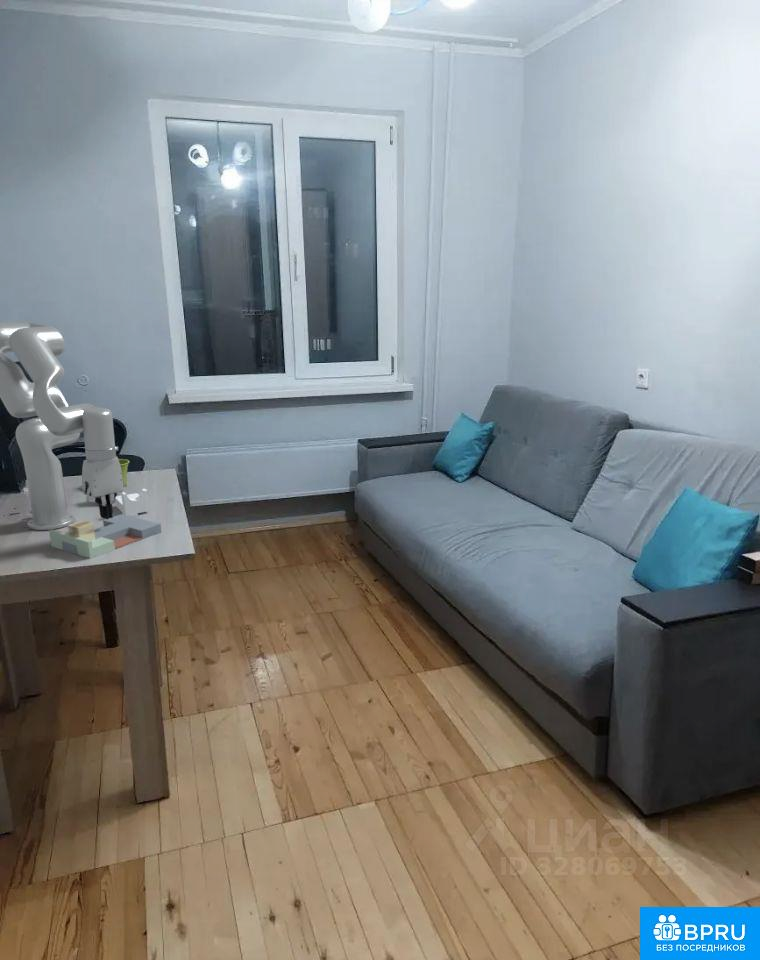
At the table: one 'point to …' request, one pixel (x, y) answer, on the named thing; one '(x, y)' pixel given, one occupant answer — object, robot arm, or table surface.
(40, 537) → the table surface
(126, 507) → the bracket
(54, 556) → the table surface
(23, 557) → the table surface
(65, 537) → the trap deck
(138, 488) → the table surface
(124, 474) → the plant pot
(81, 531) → the maple block
